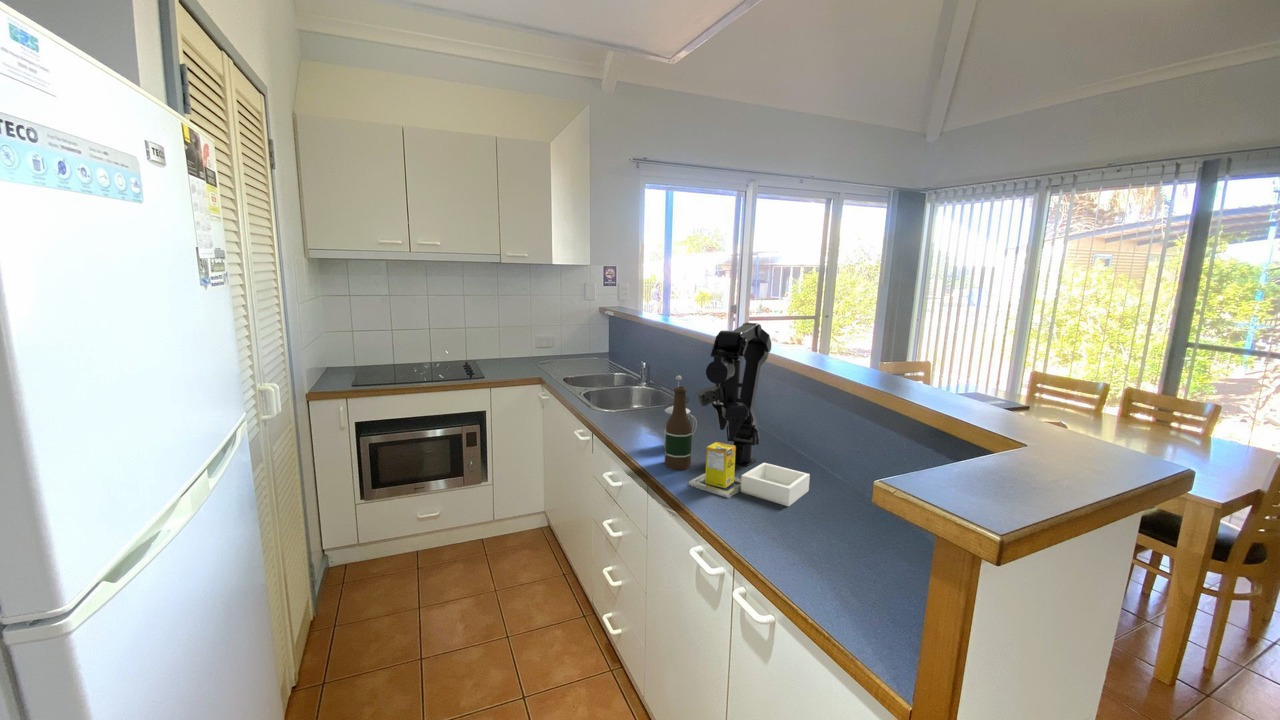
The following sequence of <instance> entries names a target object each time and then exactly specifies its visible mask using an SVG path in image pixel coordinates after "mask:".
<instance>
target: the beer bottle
mask: <svg viewBox="0 0 1280 720" xmlns="http://www.w3.org/2000/svg"><path fill="white" fill-rule="evenodd" d="M673 392H674V394H673V405H672V406H673V412H672V415H671V414H670V416H669V418H668V419H667V421H666V422H667V424H666V423H665V426H666V436H665V435H664V440H665V448H664V465H665V467H666V468H667V469H671V470H672V471H673V470H674V471H686V470H688V469H690V468H691V466H692V465H691V463H692V462H691V461H692V440H693V439H692V438H693V437H692V436H693V435H692V434H693V430H692V428H693V426H692V424H691V421H690V418H689V416H688V414H687V415H686V408H687V404H686V403H687V401H686V399H687V398H686V393H687V388H686V387H684V386H679V387H678V386H676V387H674V389H673ZM688 418H689V419H688Z"/></svg>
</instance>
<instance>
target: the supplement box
mask: <svg viewBox="0 0 1280 720" xmlns="http://www.w3.org/2000/svg"><path fill="white" fill-rule="evenodd" d="M705 451H706V452H705V453H706V454H705V473H706V474H705V479H704V480H705V481H704V484H705V485H708V486H712V487H715V488H718V489H721V490H725V491H728V489H729V488H731V487H732V486H734V484H735V481H734V476H735V470H736V469H735V467H736V463H735V452H736V446H733V444H727V443H723V442H718V441H715V442H714V443H711V444H710V445H708V446H706V450H705Z"/></svg>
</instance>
